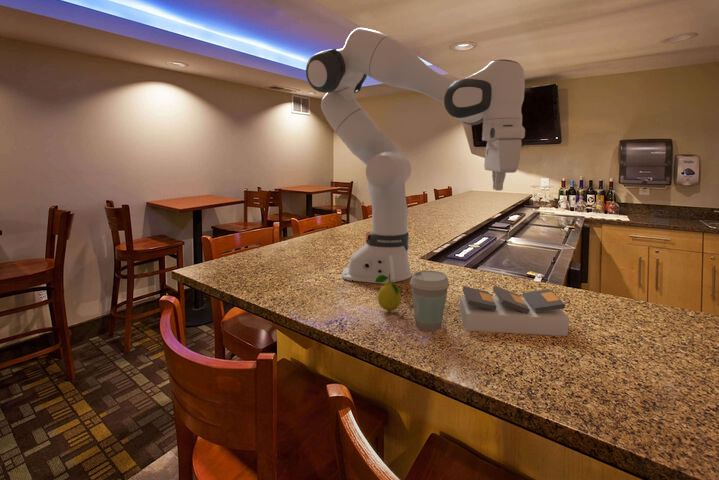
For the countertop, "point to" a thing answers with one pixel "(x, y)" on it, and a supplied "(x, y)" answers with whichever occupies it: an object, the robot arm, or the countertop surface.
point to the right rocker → (543, 300)
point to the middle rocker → (510, 299)
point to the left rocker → (479, 298)
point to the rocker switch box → (513, 319)
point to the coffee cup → (429, 299)
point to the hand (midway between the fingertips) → (497, 190)
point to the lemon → (388, 294)
